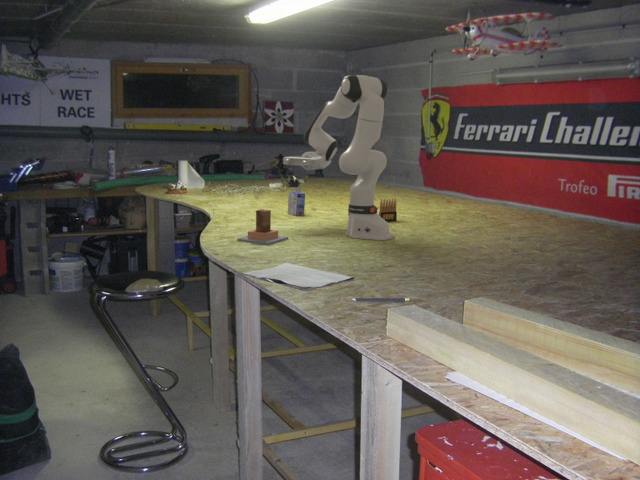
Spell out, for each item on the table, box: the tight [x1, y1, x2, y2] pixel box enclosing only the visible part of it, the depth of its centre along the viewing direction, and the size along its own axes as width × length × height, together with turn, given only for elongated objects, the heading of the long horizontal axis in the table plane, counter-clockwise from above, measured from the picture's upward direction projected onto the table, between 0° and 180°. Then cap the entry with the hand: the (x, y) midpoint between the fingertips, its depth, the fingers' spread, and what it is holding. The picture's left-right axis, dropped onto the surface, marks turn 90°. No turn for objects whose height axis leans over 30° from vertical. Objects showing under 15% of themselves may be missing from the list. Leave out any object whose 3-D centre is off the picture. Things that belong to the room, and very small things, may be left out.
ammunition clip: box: [378, 198, 398, 223], centre depth 330 cm, size 11×2×12 cm, turn 120°
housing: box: [236, 228, 289, 246], centre depth 272 cm, size 16×16×4 cm
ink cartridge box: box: [287, 187, 306, 217], centre depth 344 cm, size 10×6×14 cm, turn 33°
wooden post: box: [255, 208, 272, 233], centre depth 271 cm, size 4×4×12 cm
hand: (295, 162), depth 294 cm, fingers open, 8 cm apart
